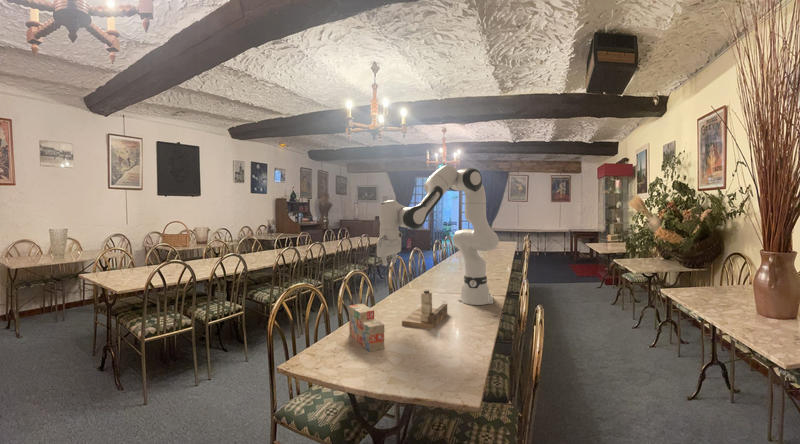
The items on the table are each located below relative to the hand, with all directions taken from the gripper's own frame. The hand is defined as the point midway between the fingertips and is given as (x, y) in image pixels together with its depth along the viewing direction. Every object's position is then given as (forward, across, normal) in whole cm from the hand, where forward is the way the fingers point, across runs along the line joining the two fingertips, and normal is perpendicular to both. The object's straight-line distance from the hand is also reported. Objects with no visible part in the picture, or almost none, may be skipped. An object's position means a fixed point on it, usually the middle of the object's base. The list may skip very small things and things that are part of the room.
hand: (389, 264), depth 174 cm
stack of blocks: (+26, -32, -4) cm, 41 cm away
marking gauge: (+23, -4, -20) cm, 31 cm away
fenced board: (+25, +2, -17) cm, 30 cm away
